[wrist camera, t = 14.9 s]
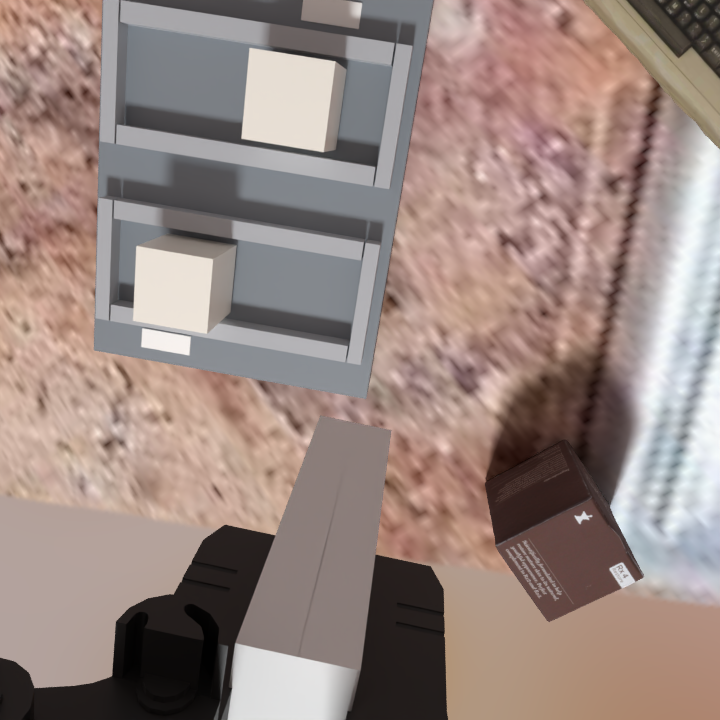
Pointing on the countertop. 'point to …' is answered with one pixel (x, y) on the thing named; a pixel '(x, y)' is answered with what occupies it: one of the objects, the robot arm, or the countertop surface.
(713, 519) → the countertop surface
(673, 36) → the computer
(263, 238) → the grey compartment tray
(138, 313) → the tab
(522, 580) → the box
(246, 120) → the tab
